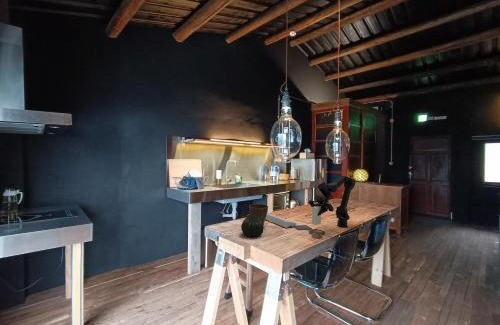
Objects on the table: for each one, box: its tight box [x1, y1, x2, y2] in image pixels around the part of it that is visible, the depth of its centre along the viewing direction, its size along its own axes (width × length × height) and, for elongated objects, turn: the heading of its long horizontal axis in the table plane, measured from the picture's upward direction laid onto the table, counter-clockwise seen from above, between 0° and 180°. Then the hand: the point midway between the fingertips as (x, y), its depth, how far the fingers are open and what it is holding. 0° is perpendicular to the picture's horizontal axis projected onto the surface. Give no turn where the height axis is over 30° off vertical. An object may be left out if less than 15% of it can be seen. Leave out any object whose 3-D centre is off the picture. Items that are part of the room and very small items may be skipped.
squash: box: [240, 213, 264, 238], centre depth 169 cm, size 14×15×15 cm
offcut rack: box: [308, 228, 326, 236], centre depth 177 cm, size 9×8×2 cm
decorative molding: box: [265, 213, 297, 229], centre depth 204 cm, size 34×5×10 cm
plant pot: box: [248, 203, 269, 225], centre depth 190 cm, size 15×15×16 cm
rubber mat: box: [293, 224, 313, 231], centre depth 190 cm, size 11×10×1 cm
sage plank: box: [311, 206, 322, 226], centre depth 177 cm, size 5×4×12 cm
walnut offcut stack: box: [311, 229, 324, 240], centre depth 168 cm, size 5×5×4 cm
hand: (315, 214), depth 176 cm, fingers closed on sage plank, 4 cm apart
